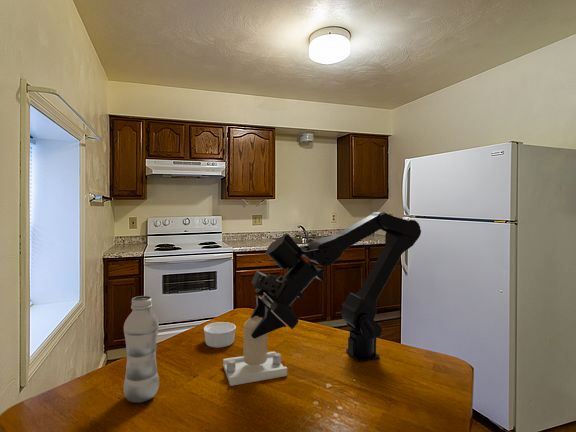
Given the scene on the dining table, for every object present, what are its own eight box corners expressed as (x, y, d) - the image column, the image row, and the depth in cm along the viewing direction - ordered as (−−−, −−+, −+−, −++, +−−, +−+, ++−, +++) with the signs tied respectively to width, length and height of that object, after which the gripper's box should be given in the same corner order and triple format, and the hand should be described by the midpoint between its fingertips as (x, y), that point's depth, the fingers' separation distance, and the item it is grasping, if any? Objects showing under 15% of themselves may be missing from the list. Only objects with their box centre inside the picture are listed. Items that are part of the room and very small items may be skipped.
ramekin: (196, 344, 91) (197, 328, 91) (219, 333, 99) (219, 319, 99) (220, 351, 86) (220, 335, 86) (242, 340, 94) (242, 325, 94)
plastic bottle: (136, 412, 61) (137, 305, 60) (116, 400, 64) (116, 299, 64) (166, 395, 66) (166, 297, 66) (145, 385, 70) (146, 292, 69)
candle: (241, 365, 74) (241, 322, 74) (245, 353, 80) (246, 313, 79) (265, 366, 74) (266, 323, 73) (267, 354, 79) (268, 314, 79)
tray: (274, 358, 83) (274, 346, 83) (287, 375, 75) (287, 362, 75) (223, 366, 79) (223, 354, 78) (230, 385, 70) (230, 372, 70)
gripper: (262, 253, 86) (220, 299, 83) (284, 266, 68) (231, 324, 65) (290, 281, 89) (250, 326, 86) (318, 300, 71) (269, 358, 68)
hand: (249, 332), depth 76 cm, fingers closed on candle, 5 cm apart
